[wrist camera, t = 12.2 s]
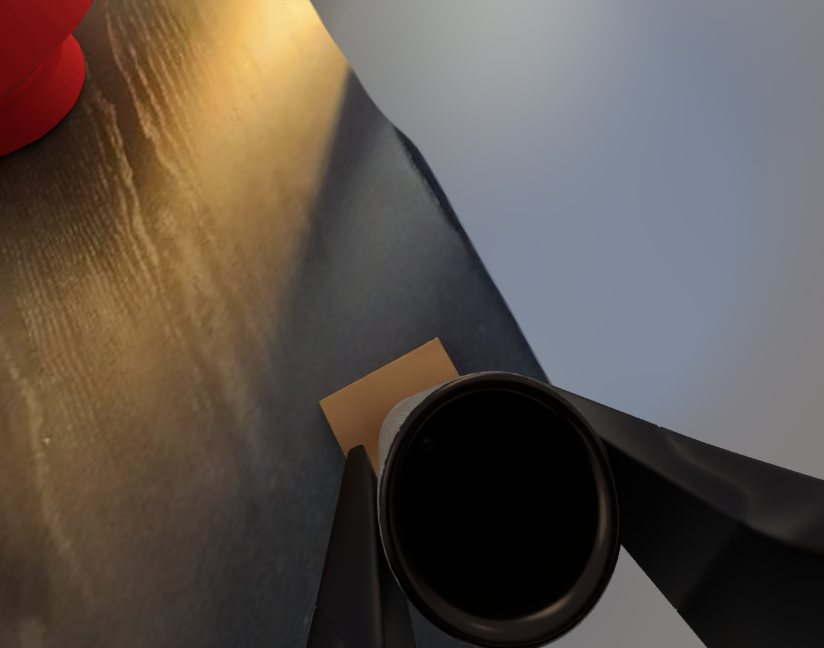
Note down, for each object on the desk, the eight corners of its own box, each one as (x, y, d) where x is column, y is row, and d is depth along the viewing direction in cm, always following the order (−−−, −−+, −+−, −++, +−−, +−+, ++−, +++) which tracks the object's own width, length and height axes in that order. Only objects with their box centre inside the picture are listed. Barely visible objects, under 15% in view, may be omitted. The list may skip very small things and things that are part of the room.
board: (499, 453, 22) (506, 456, 20) (384, 530, 20) (384, 538, 19) (434, 340, 23) (437, 337, 22) (321, 401, 21) (318, 401, 20)
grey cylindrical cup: (478, 482, 15) (663, 619, 5) (385, 500, 15) (397, 696, 5) (460, 388, 16) (585, 355, 6) (373, 401, 16) (362, 389, 6)
